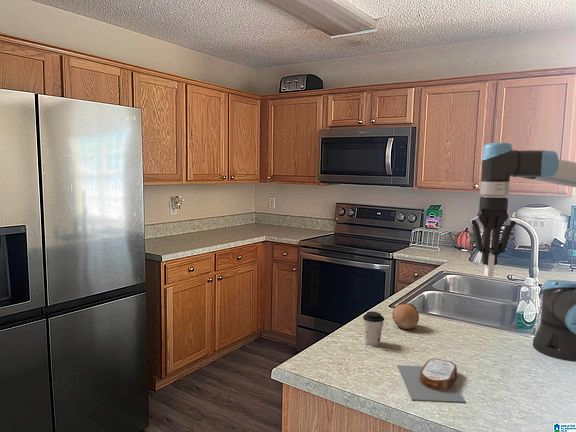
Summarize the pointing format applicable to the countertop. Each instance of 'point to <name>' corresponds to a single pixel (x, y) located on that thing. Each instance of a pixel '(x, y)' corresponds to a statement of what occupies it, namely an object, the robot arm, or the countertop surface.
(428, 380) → the tin
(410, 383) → the mat
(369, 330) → the coffee cup
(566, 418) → the countertop surface
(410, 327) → the onion
